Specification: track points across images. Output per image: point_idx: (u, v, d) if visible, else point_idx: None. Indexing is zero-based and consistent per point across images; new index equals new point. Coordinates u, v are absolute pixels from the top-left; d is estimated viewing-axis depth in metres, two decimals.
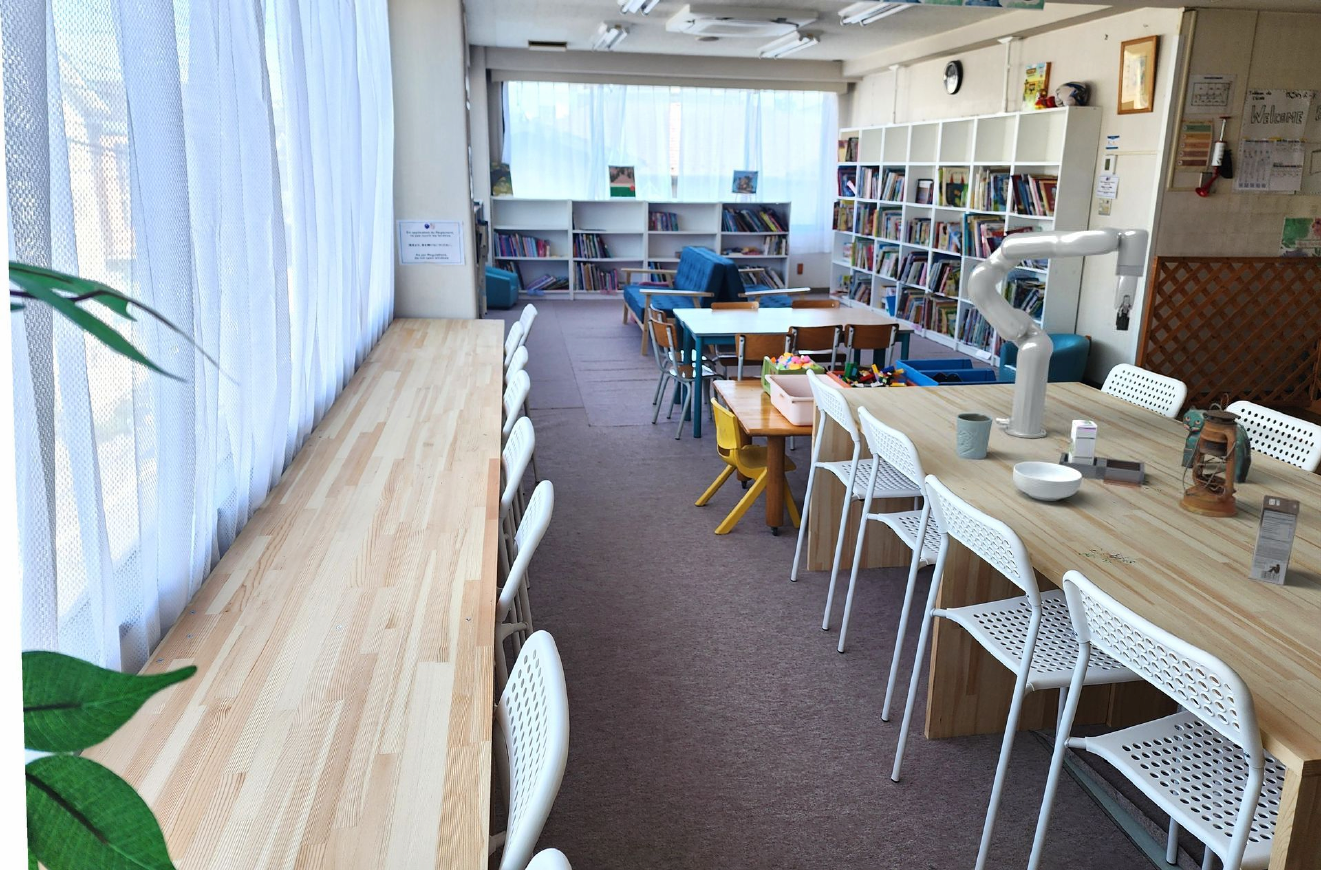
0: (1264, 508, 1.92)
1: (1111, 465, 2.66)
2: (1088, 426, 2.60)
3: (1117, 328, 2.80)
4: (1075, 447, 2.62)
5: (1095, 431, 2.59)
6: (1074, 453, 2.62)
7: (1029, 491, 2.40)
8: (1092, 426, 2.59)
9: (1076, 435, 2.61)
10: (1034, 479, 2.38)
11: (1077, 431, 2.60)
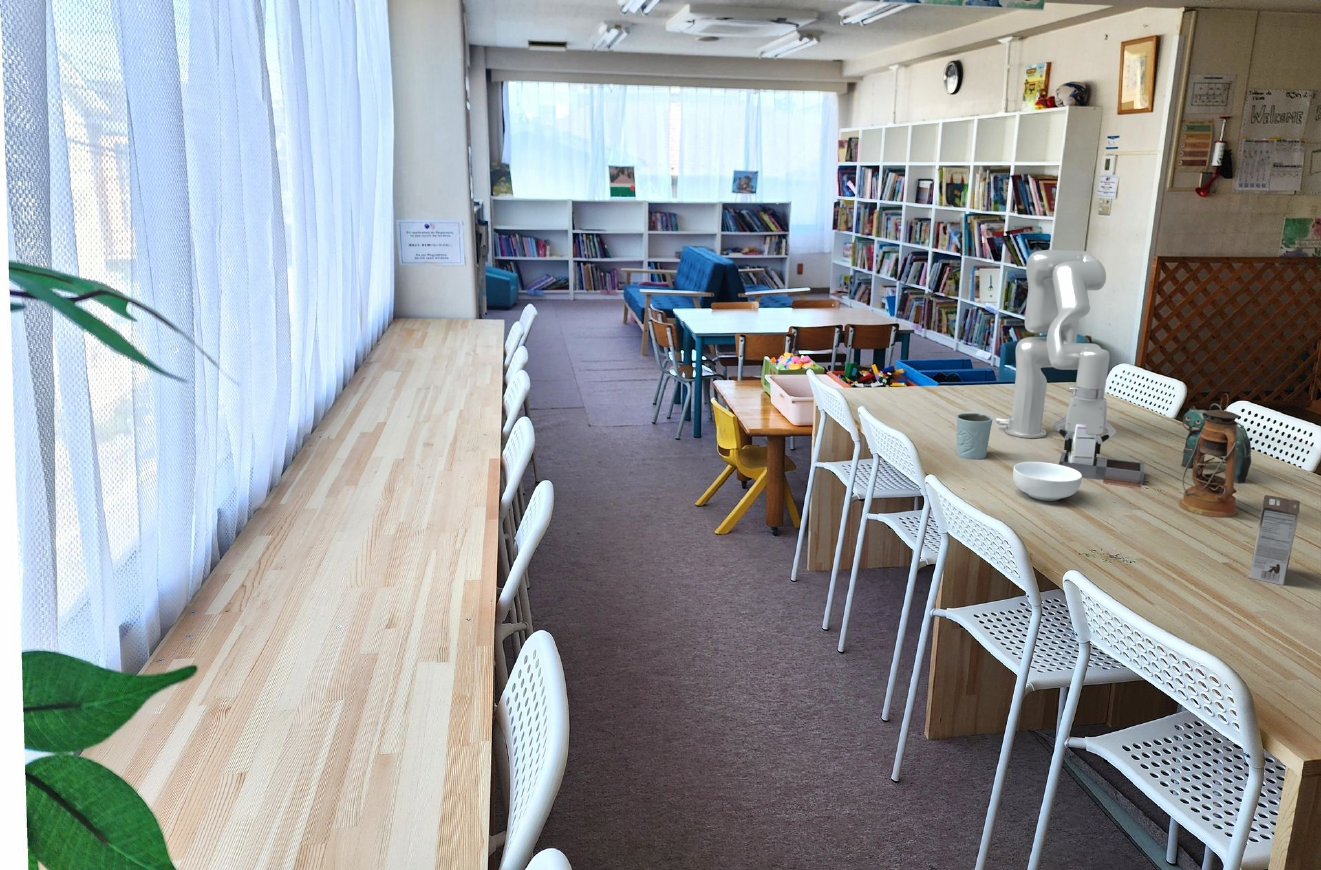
0: (1264, 508, 1.92)
1: (1111, 465, 2.66)
2: None
3: (1096, 455, 2.62)
4: (1075, 447, 2.62)
5: None
6: (1074, 453, 2.62)
7: (1029, 491, 2.40)
8: None
9: (1076, 435, 2.61)
10: (1034, 479, 2.38)
11: (1077, 431, 2.60)
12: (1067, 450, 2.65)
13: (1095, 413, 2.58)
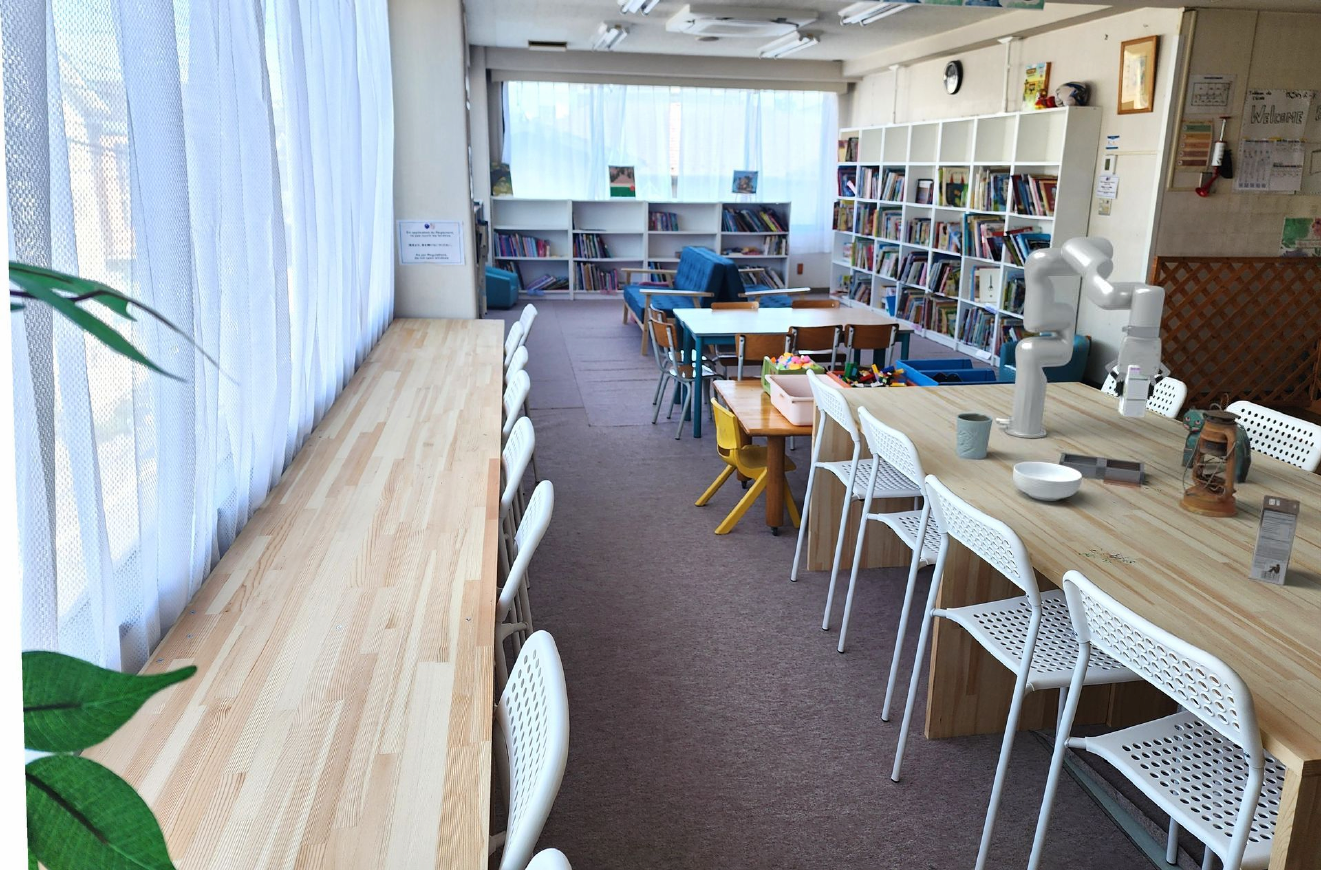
0: (1264, 508, 1.92)
1: (1111, 465, 2.66)
2: None
3: (1149, 398, 2.52)
4: (1127, 389, 2.52)
5: None
6: (1126, 395, 2.53)
7: (1029, 491, 2.40)
8: None
9: (1129, 376, 2.51)
10: (1034, 479, 2.38)
11: (1130, 372, 2.51)
12: (1119, 393, 2.55)
13: (1149, 353, 2.48)
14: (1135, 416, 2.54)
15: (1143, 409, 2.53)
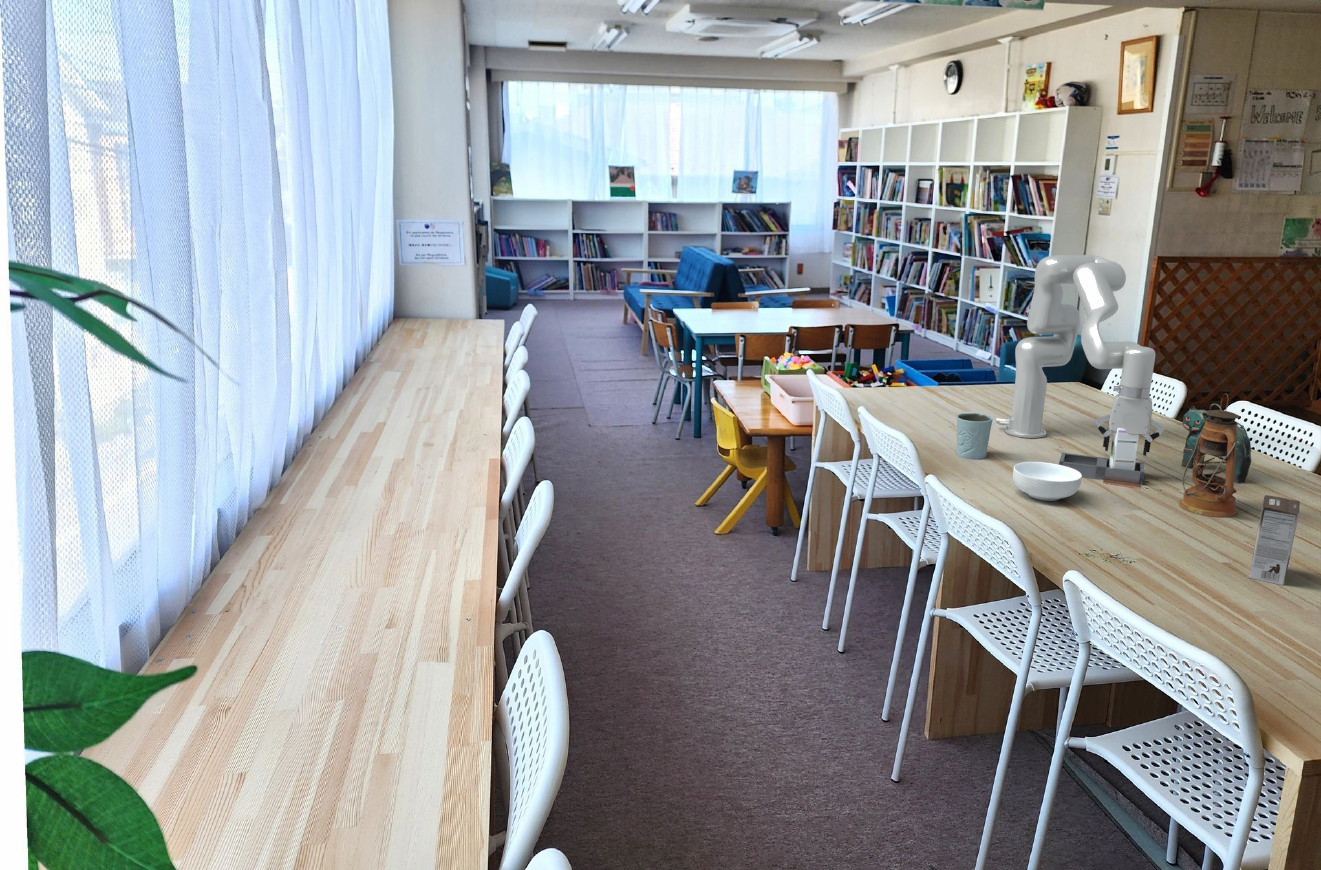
0: (1264, 508, 1.92)
1: None
2: None
3: None
4: (1116, 451, 2.57)
5: (1137, 435, 2.55)
6: (1115, 457, 2.58)
7: (1029, 491, 2.40)
8: None
9: (1117, 438, 2.56)
10: (1034, 479, 2.38)
11: (1118, 434, 2.56)
12: (1106, 447, 2.60)
13: (1140, 412, 2.53)
14: None
15: None
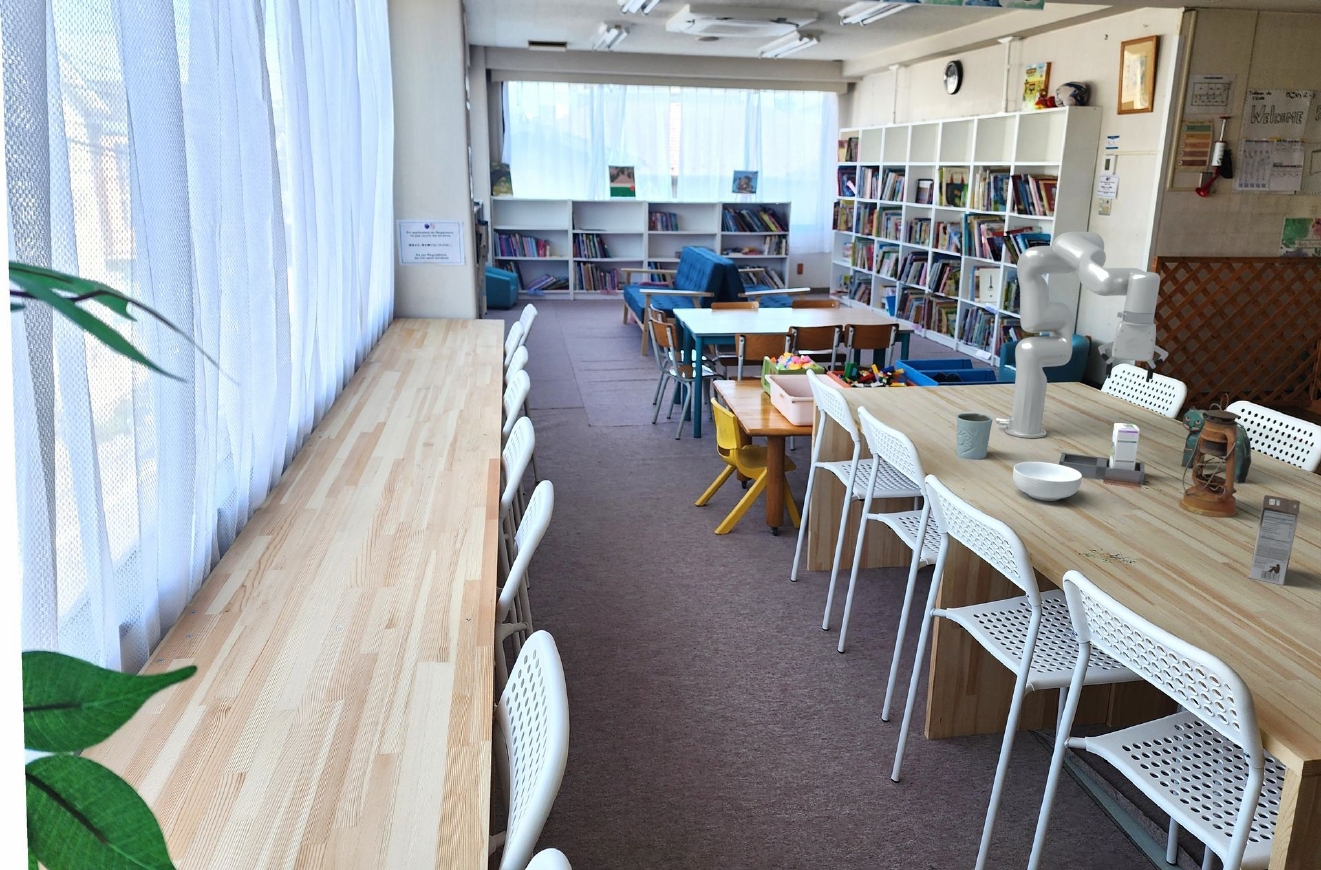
0: (1264, 508, 1.92)
1: None
2: (1130, 429, 2.55)
3: None
4: (1116, 451, 2.57)
5: (1137, 435, 2.55)
6: (1115, 457, 2.58)
7: (1029, 491, 2.40)
8: (1134, 429, 2.55)
9: (1117, 438, 2.56)
10: (1034, 479, 2.38)
11: (1118, 434, 2.56)
12: (1109, 374, 2.59)
13: (1144, 338, 2.51)
14: None
15: None
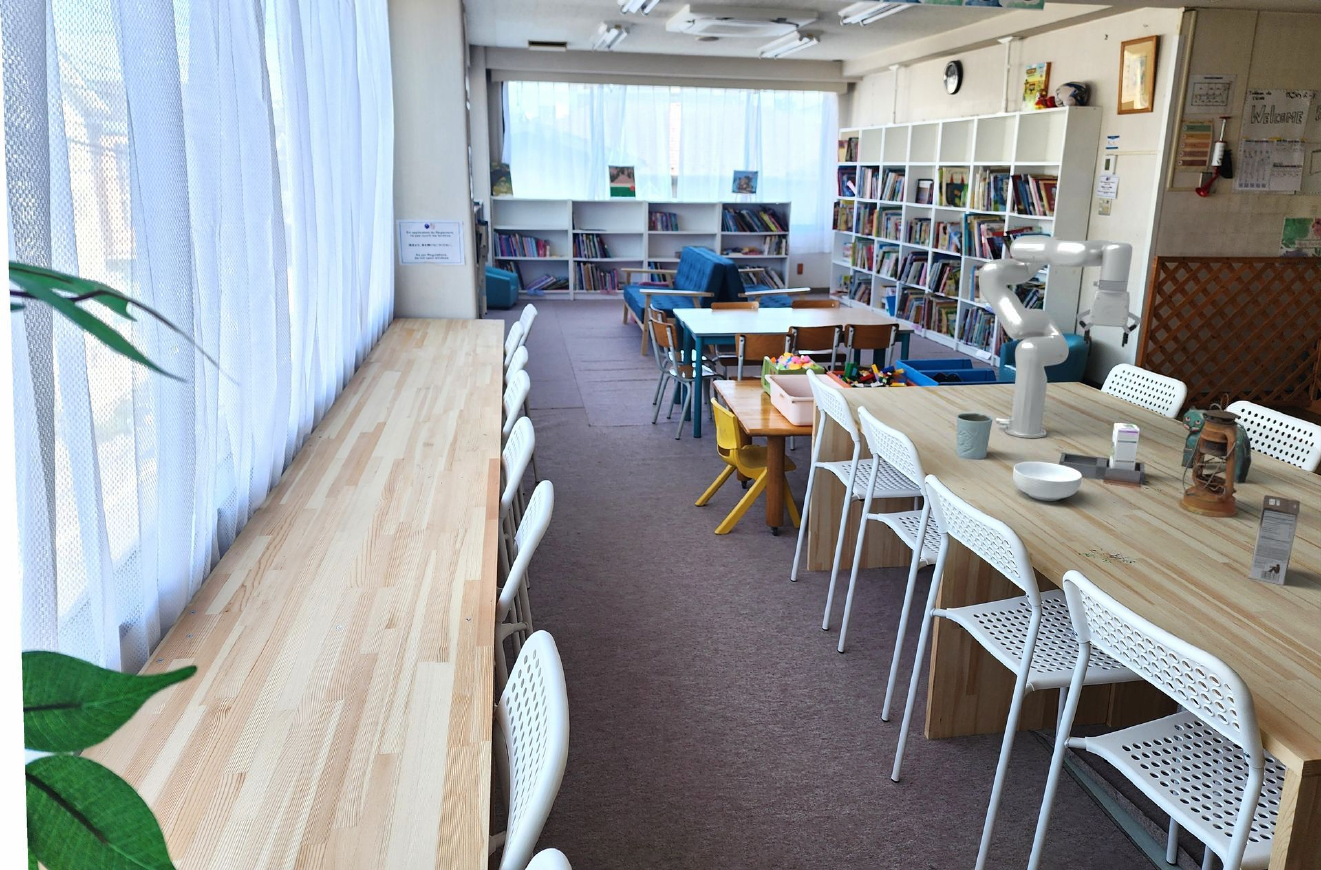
0: (1264, 508, 1.92)
1: None
2: (1130, 429, 2.55)
3: None
4: (1116, 451, 2.57)
5: (1137, 435, 2.55)
6: (1115, 457, 2.58)
7: (1029, 491, 2.40)
8: (1134, 429, 2.55)
9: (1117, 438, 2.56)
10: (1034, 479, 2.38)
11: (1118, 434, 2.56)
12: (1087, 340, 2.75)
13: (1118, 305, 2.68)
14: None
15: None
